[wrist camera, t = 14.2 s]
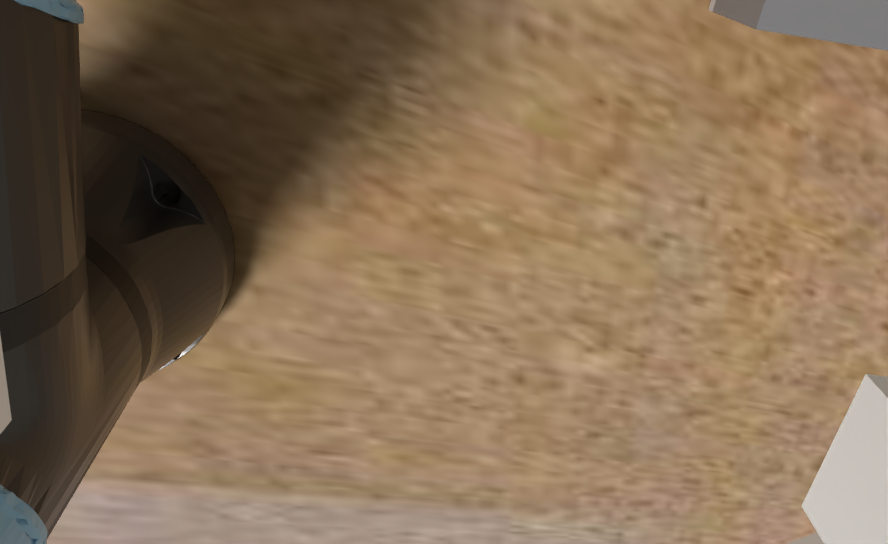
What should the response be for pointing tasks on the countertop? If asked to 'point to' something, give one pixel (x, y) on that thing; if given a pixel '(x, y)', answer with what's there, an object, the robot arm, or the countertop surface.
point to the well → (814, 18)
